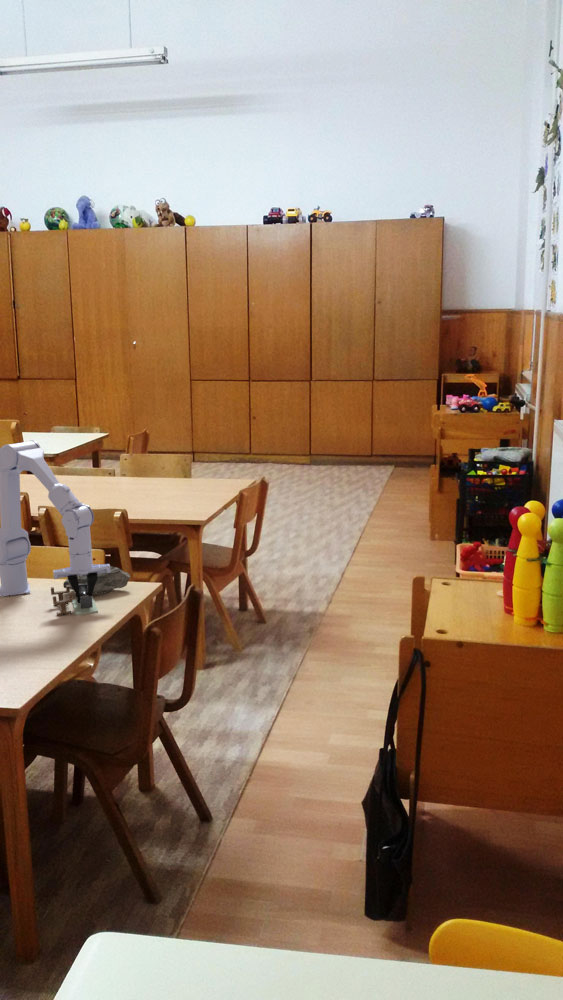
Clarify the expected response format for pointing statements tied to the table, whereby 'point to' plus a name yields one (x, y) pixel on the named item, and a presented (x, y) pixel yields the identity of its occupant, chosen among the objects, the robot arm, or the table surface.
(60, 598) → the rail stand
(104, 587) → the rock
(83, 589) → the column with square cap
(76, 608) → the mat
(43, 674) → the table surface
